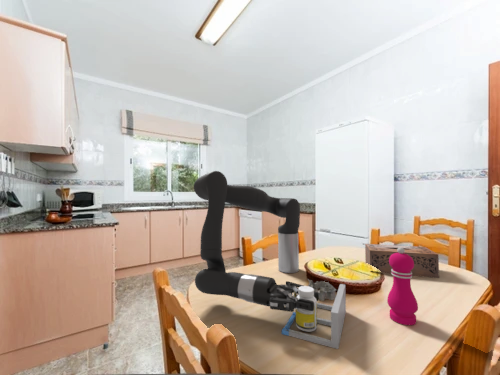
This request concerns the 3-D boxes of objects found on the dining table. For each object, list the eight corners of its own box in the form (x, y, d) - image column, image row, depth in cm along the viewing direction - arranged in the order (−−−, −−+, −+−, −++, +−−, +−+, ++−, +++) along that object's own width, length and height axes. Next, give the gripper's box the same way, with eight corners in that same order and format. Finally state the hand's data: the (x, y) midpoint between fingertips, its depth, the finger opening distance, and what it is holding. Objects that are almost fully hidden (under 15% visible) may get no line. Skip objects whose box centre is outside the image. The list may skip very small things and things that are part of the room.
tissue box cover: (425, 268, 112) (425, 246, 112) (439, 278, 98) (438, 254, 99) (365, 263, 120) (365, 243, 120) (370, 272, 106) (369, 250, 107)
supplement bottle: (303, 318, 66) (303, 283, 66) (320, 326, 62) (321, 289, 62) (291, 325, 62) (291, 288, 62) (309, 335, 58) (309, 295, 58)
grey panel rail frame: (301, 302, 77) (300, 277, 77) (345, 311, 71) (345, 284, 71) (281, 333, 60) (281, 301, 60) (338, 349, 54) (337, 313, 54)
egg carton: (306, 289, 89) (306, 277, 89) (325, 288, 89) (325, 277, 89) (316, 301, 78) (316, 289, 78) (338, 300, 78) (338, 288, 79)
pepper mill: (423, 328, 62) (421, 251, 62) (393, 325, 63) (391, 249, 64) (411, 314, 69) (409, 245, 70) (383, 311, 70) (382, 244, 71)
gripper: (245, 284, 62) (310, 297, 55) (266, 269, 75) (321, 277, 67) (245, 313, 62) (310, 330, 54) (266, 292, 75) (321, 304, 67)
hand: (316, 301), depth 61 cm, fingers closed on supplement bottle, 5 cm apart
